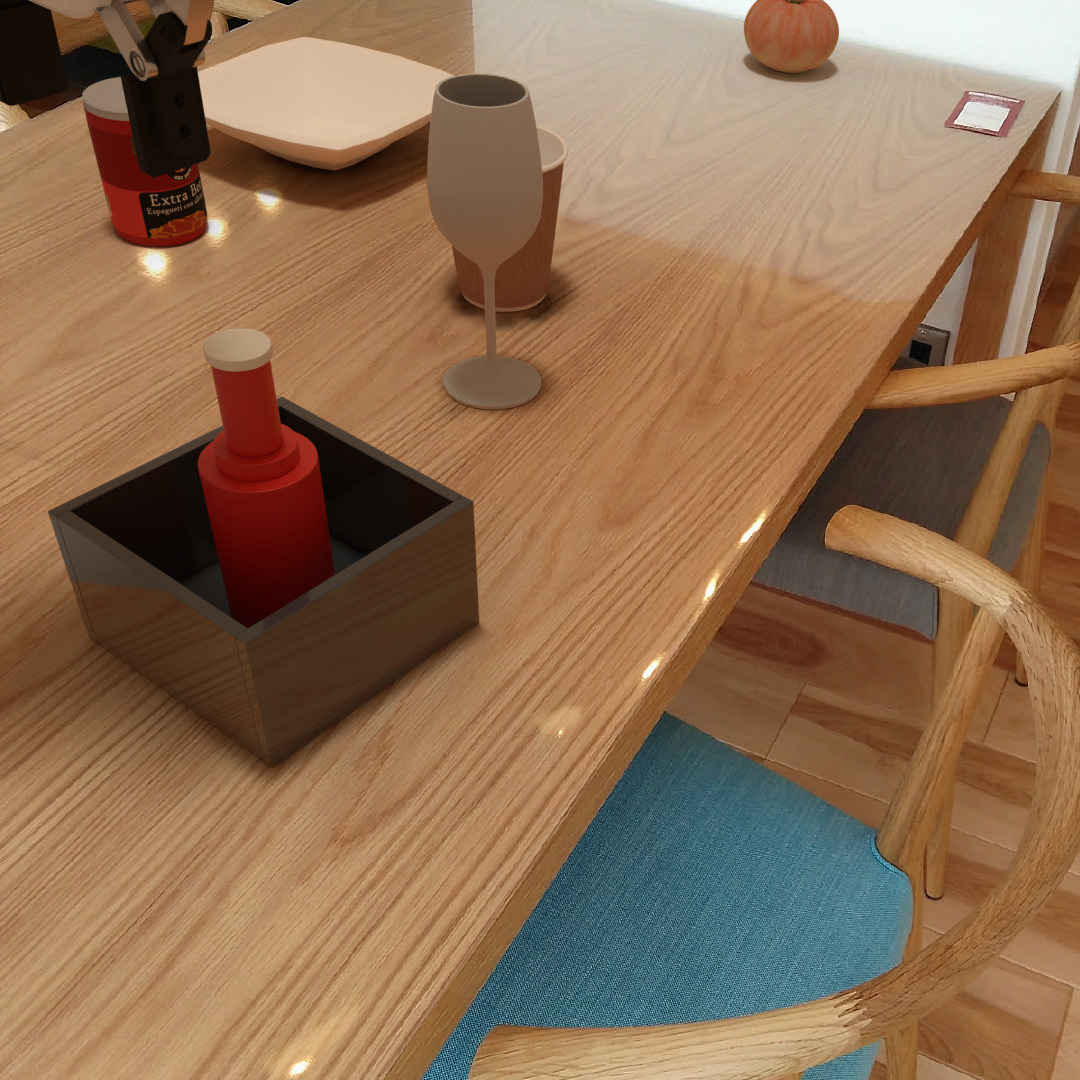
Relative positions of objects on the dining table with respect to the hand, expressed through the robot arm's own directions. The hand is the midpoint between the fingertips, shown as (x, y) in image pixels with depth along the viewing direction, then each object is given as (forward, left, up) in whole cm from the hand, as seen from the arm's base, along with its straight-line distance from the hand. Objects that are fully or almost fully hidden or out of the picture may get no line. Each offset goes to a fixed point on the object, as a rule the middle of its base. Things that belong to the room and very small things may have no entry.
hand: (103, 130), depth 57 cm
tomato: (-29, +104, -28) cm, 112 cm away
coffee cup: (-15, +41, -28) cm, 52 cm away
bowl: (-46, +50, -28) cm, 74 cm away
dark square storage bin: (+4, +2, -28) cm, 28 cm away
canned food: (-43, +29, -28) cm, 59 cm away
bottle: (+4, +2, -27) cm, 28 cm away
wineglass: (-6, +30, -28) cm, 42 cm away
